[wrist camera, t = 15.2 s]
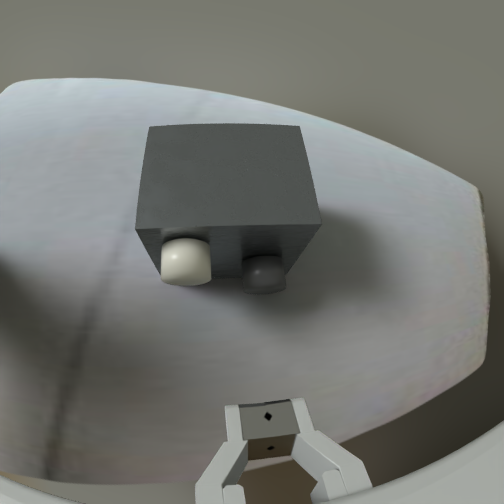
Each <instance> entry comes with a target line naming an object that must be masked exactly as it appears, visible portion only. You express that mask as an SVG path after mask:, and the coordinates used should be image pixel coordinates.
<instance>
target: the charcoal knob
mask: <svg viewBox="0 0 504 504" xmlns="http://www.w3.org/2000/svg"><path fill="white" fill-rule="evenodd" d="M242 276H243V289H244V292H245V293H248V294H270V293H275V292H279V291H282V290H284V289H285V288H286V282H285V274H284V265H283V260H282V259H281V258H280V257H276V256H258V257H253V258H250V259H247V260H245V261H244V262H243V263H242Z"/></svg>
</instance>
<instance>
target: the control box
mask: <svg viewBox="0 0 504 504" xmlns="http://www.w3.org/2000/svg"><path fill="white" fill-rule="evenodd" d="M321 225H322V222H321V217H320V212H319V207H318V203H317V198H316V193H315V189H314V184H313V179H312V175H311V171H310V166H309V162H308V158H307V154H306V150H305V146H304V142H303V138H302V134H301V130H300V126H289V125H271V124H185V125H167V126H153V127H149V131H148V137H147V142H146V148H145V154H144V160H143V167H142V174H141V181H140V189H139V197H138V205H137V215H136V225H135V230H136V232H137V234H138V236H139V237H140V239H141V241H142V243H143V245H144V247H145V249H146V250H147V252H148V254H149V256H150V258H151V260H152V261H153V263H154V265H155V267H156V268H157V270H158V272H159V274H160V275H161V252H162V245H163V244H164V243H166V242H168V241H171V240H174V239H182V238H189V239H197V240H201V241H204V242H206V243H207V244H209V246H210V259H211V279H214V278H239V277H243V276H242V263H243V262H244V261H245V260H247V259H250V258H253V257H258V256H276V257H280V258H281V259H282V260H283V265H284V274H285V275H286V274H287V272H288V271H289V270H290V268H291V267H292V265H293V264H294V263H295V261H296V260H297V258H298V257H299V256H300V254H301V253H302V252H303V250H304V249H305V247H306V246H307V244H308V243H309V242H310V240H311V239H312V237H313V236H314V235H315V233H316V232H317V230H318V229H319V227H320V226H321Z"/></svg>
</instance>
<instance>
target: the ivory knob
mask: <svg viewBox="0 0 504 504" xmlns="http://www.w3.org/2000/svg"><path fill="white" fill-rule="evenodd" d="M161 280H162V281H163V282H165V283H167V284H171V285H178V286H194V285H200V284H204V283H207V282H209V281H210V280H211V259H210V246H209V244H207V243H206V242H204V241H201V240H197V239H189V238H182V239H174V240H171V241H168V242H166V243H164V244H163V245H162V252H161Z"/></svg>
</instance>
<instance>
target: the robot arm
mask: <svg viewBox="0 0 504 504" xmlns="http://www.w3.org/2000/svg"><path fill="white" fill-rule="evenodd" d="M225 416H226V427H227V437H228V442H224V443H223V444H222V446H221V447H220V449H219V450H218V452H217V454H216V455H215V457H214V458H213V460H212V461H211V463H210V464H209V466H208V467H207V469H206V470H205V471H204V473H203V474H202V476H201V477H200V479H199V480H198V482H197V483H196V485H195V499H196V504H246V502H245V496H244V490H243V487H242V486H240V485H236V483H237V481H238V480H239V478H240V476H241V474H242V472H243V470H244V468H245V466H246V465H247V463H248V461H249V460H257V459H265V458H273V457H281V456H289V455H291V457H292V458H293V459H294V460H295V461H297V462H298V463H299V464H300V465H301V466H302V467H303V468H304V469H305V470H306V471H307V472H308V473H309V474H310V475H311V476H312V477H314V478H315V479H316V480H317V481H318V483H317V485H316V486H315V488H314V490H313V491H312V493H311V494H310V496H311V500H312V503H313V504H504V421H502V422H501V423H500V424H498V425H497V426H495V427H494V428H493V429H491V430H489V431H488V432H486V433H485V434H483V435H482V436H480V437H478V438H477V439H475V440H474V441H472V442H470V443H469V444H467V445H465V446H464V447H462V448H460V449H459V450H457V451H455V452H453V453H451V454H449V455H447V456H446V457H444V458H442V459H440V460H438V461H436V462H434V463H432V464H430V465H428V466H425V467H423V468H421V469H419V470H417V471H415V472H412V473H410V474H408V475H405V476H403V477H401V478H398V479H395V480H393V481H390V482H388V483H385V484H382V485H380V486H377V487H374V488H373V487H372V484H371V482H370V479H369V477H368V474H367V472H366V469H365V467H364V465H363V462H362V461H361V460H360V459H358V458H357V457H355V456H354V455H353V454H351V453H350V452H348V451H347V450H345V449H344V448H342V447H341V446H340V445H338V444H337V443H336V442H334V441H333V440H331V439H330V438H329V437H327V436H326V435H325V434H323V433H322V432H321V431H319V430H316V431H315V429H314V426H313V423H312V420H311V417H310V414H309V411H308V408H307V405H306V402H305V399H304V398H303V397H301V398H295V399H286V400H279V401H271V402H264V403H255V404H241V405H225ZM0 504H84V503H80V502H76V501H72V500H69V499H65V498H61V497H58V496H55V495H52V494H48V493H45V492H42V491H39V490H37V489H34V488H31V487H28V486H26V485H23V484H21V483H18V482H16V481H13V480H11V479H8V478H6V477H4V476H1V475H0Z"/></svg>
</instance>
